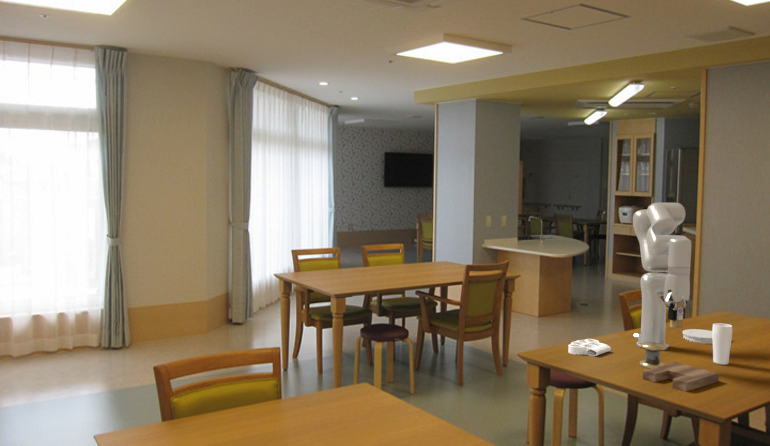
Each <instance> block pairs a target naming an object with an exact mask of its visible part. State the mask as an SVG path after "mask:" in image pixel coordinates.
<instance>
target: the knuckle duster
mask: <svg viewBox="0 0 770 446" xmlns="http://www.w3.org/2000/svg"><path fill="white" fill-rule="evenodd" d="M567 346H568V348H567V349H568V354H571V355H576V354H577V356H578V355H581V356H582V355H587V356H589V357H596V356H599V355H602V354H604V353H608V352H610V351H611V349H612V348H611V346H609V344H606V343H602V342H600V340H597V339H593V338H586V339H578V340H575V341H572V342H570V344H568V345H567Z"/></svg>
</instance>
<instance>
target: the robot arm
mask: <svg viewBox="0 0 770 446" xmlns="http://www.w3.org/2000/svg"><path fill="white" fill-rule="evenodd" d="M685 218H686V208H685V207H684V206H683V204H681V203H680V202H660V201H659V202H654V203H651V204H650V205H648V207H647V209H639V210H637V211H635V212H634V213H633V216H632V226H633V229H634V233H635V236H636V238H637V240H638V242H639V249H640V257H641V266H642V268H643V269H644V270H645V271H647V273H644V274H643V275H642V276H641V278H640V281H639V282H640V291H641V318H640V319H641V322H640V323H641V324H640V333H637V332H634V334H633V339H638V341H636V346H637V347H639V348H641V347H640V343H642V342H656V343H661V344H664V345H666V350H668V349H669V346H670V345H669V344H668V343H666V324H667V323H666V321H667V319H668V320H669V321H670V320H674V321H676V320H677V310H676V307H677V302H680V301H682V299H683V300H684V305H683V320H684V319H685V318H686V316H685V315H686V308H687V304H688V302H689V300H690V295H691V293H690V292H691V282H690V281H691V280H690V276H691V275H690V274H691V262H692V261H691V259H692V257H691V256H692V240H691V239H689V238H688V237H687V236H685V235H676V234H674V235H673V234H672V233H673V232H675V230H676V228H677V227H678V226H680V225H681V224H682V223H683V222H684V221H685ZM683 295H684V298H682V296H683ZM661 297H663V299H662V298H661ZM663 300H664V301H663ZM672 300H673V301H672ZM672 303H674V305H673V304H672Z"/></svg>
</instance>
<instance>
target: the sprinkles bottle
mask: <svg viewBox="0 0 770 446" xmlns="http://www.w3.org/2000/svg"><path fill="white" fill-rule="evenodd" d="M682 298H684V295H683V296H682ZM672 301H673V300H672ZM672 304H673V305H674V303H672ZM683 305H684V300H683V299H682V301H680V302H677V307H676V310H677V320H676V321H674V320H669V327H670V328H672V329H683V320H684V319H683Z"/></svg>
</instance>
